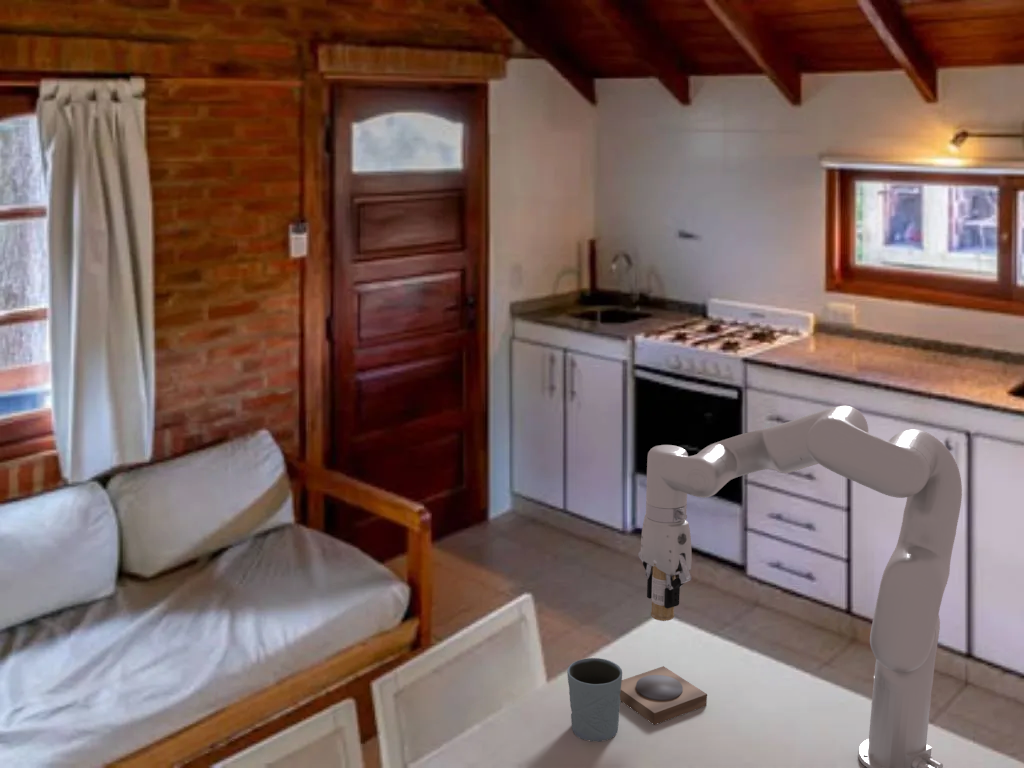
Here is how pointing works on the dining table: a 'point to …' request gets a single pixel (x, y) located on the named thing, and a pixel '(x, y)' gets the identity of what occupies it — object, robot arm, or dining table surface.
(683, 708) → the walnut base
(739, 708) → the dining table surface
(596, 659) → the blue-grey cup
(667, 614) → the sprinkles bottle
